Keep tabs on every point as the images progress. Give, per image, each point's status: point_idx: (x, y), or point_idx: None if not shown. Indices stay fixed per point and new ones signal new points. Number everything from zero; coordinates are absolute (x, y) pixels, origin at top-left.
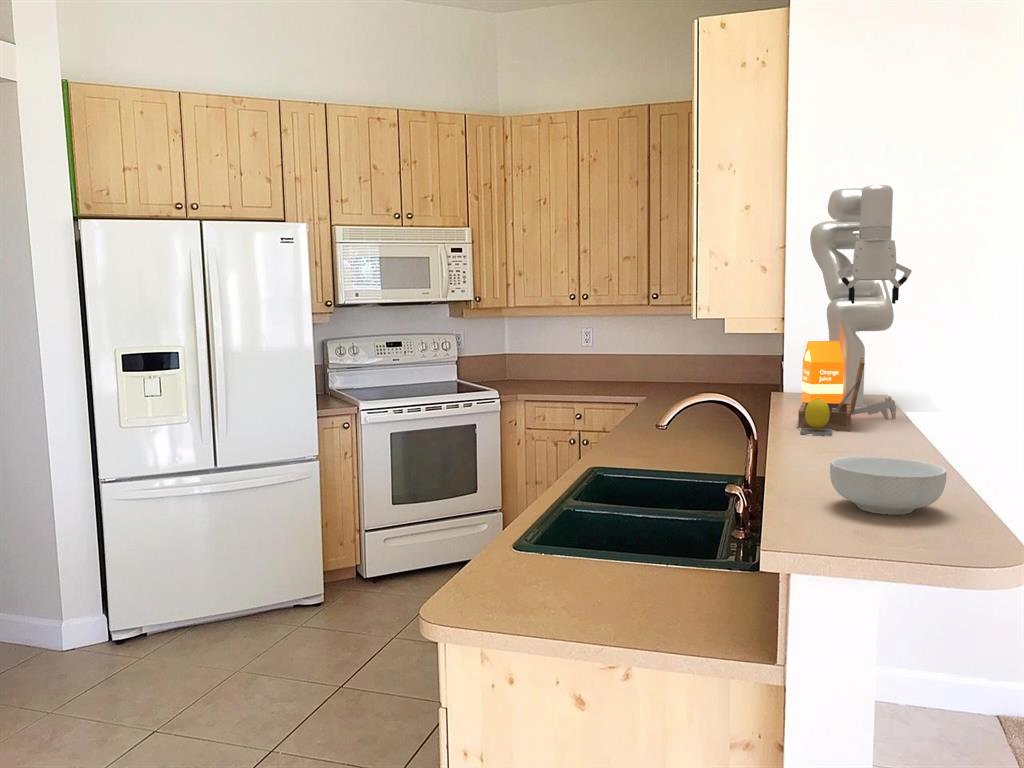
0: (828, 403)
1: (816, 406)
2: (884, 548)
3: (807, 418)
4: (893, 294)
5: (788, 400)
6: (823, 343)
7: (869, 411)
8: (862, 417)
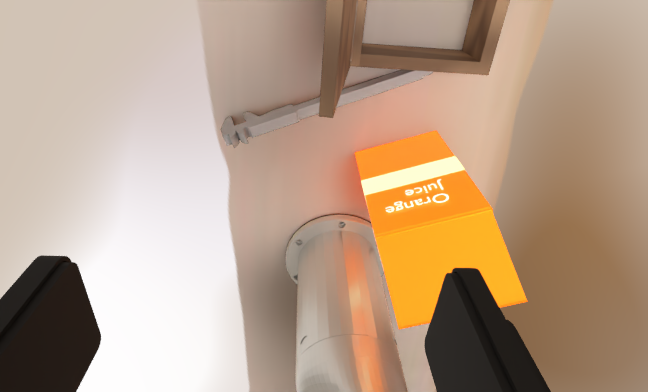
0: (415, 57)
1: None
2: None
3: None
4: (4, 333)
5: None
6: None
7: (291, 106)
8: (307, 131)
